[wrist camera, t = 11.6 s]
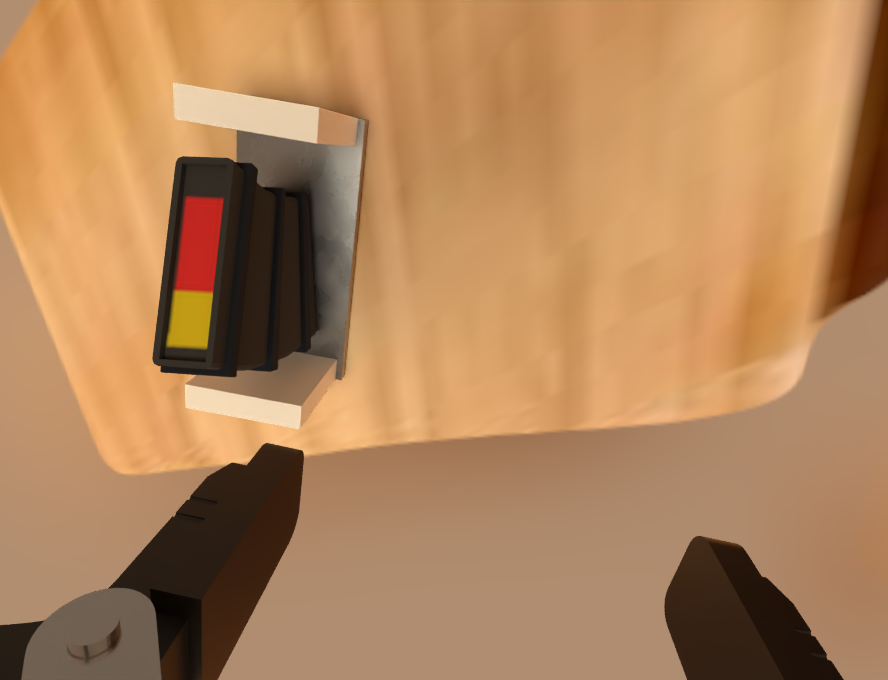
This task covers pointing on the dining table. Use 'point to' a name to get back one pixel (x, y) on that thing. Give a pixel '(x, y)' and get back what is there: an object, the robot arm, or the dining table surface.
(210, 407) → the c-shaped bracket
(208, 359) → the magazine
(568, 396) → the dining table surface
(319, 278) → the rail plate
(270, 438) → the dining table surface
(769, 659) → the robot arm
